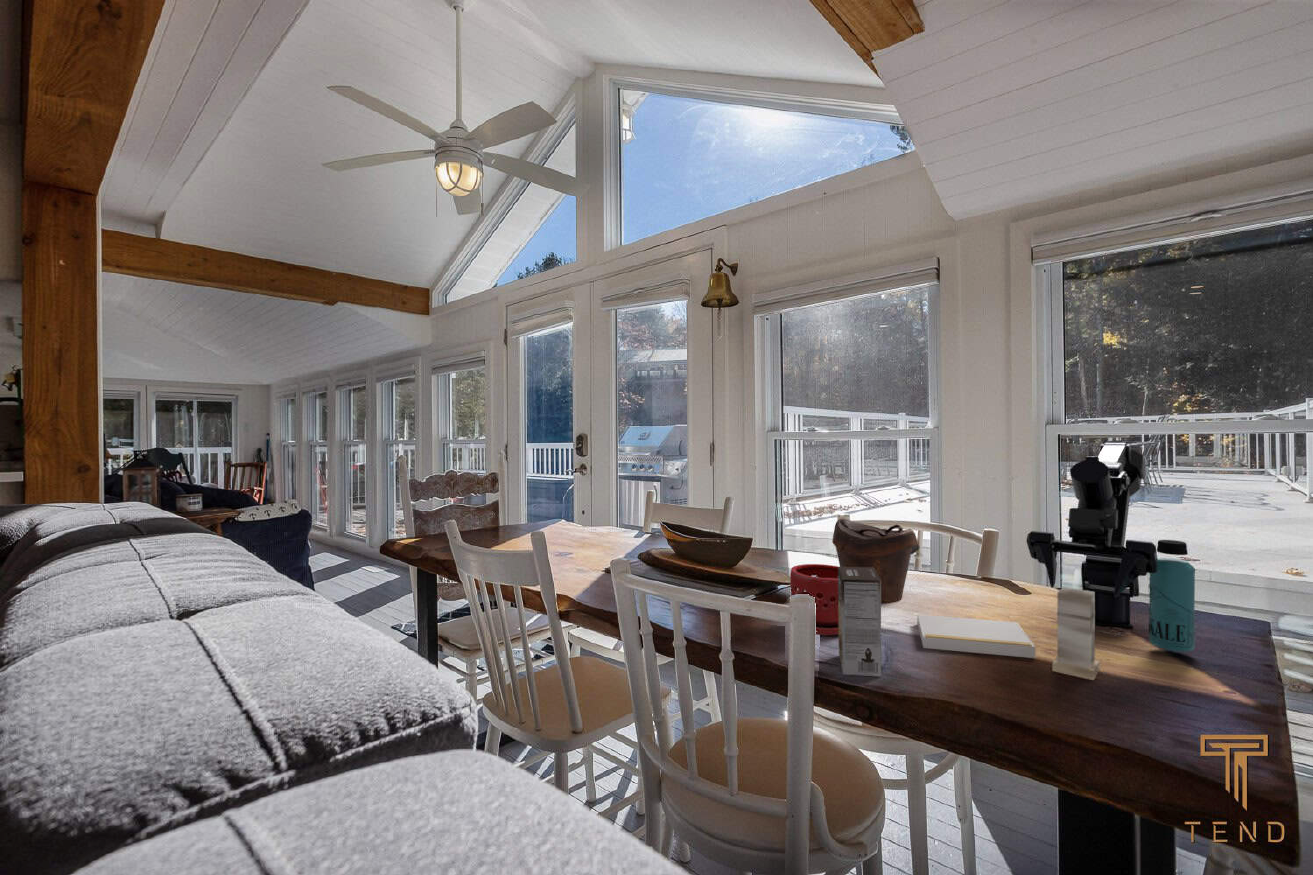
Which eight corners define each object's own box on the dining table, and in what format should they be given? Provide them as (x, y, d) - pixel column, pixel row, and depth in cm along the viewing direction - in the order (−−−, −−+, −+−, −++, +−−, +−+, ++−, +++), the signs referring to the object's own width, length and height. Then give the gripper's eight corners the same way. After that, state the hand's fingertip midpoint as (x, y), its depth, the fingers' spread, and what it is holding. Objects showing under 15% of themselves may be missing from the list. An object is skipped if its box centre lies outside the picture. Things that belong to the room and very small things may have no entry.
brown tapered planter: (933, 605, 139) (932, 525, 139) (844, 607, 140) (842, 527, 140) (903, 586, 157) (901, 515, 157) (823, 587, 157) (822, 517, 157)
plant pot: (818, 644, 117) (817, 580, 116) (777, 624, 129) (777, 566, 128) (872, 633, 122) (871, 573, 122) (828, 615, 134) (828, 560, 134)
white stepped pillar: (1060, 661, 107) (1059, 586, 106) (1099, 669, 103) (1099, 591, 102) (1052, 670, 103) (1052, 592, 102) (1093, 680, 99) (1093, 598, 98)
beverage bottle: (1185, 649, 111) (1185, 537, 111) (1204, 662, 105) (1204, 544, 105) (1141, 645, 113) (1141, 536, 113) (1157, 658, 107) (1157, 543, 107)
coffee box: (837, 654, 111) (836, 565, 111) (875, 656, 110) (874, 566, 110) (842, 675, 102) (841, 578, 102) (883, 677, 101) (882, 579, 101)
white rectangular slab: (1017, 632, 121) (1017, 621, 121) (1035, 658, 108) (1035, 645, 108) (917, 624, 127) (917, 613, 127) (923, 647, 114) (923, 635, 114)
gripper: (1028, 487, 117) (1012, 555, 109) (1155, 494, 104) (1147, 571, 96) (1039, 524, 122) (1024, 591, 115) (1160, 535, 110) (1153, 611, 102)
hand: (1082, 590), depth 107 cm, fingers open, 9 cm apart
